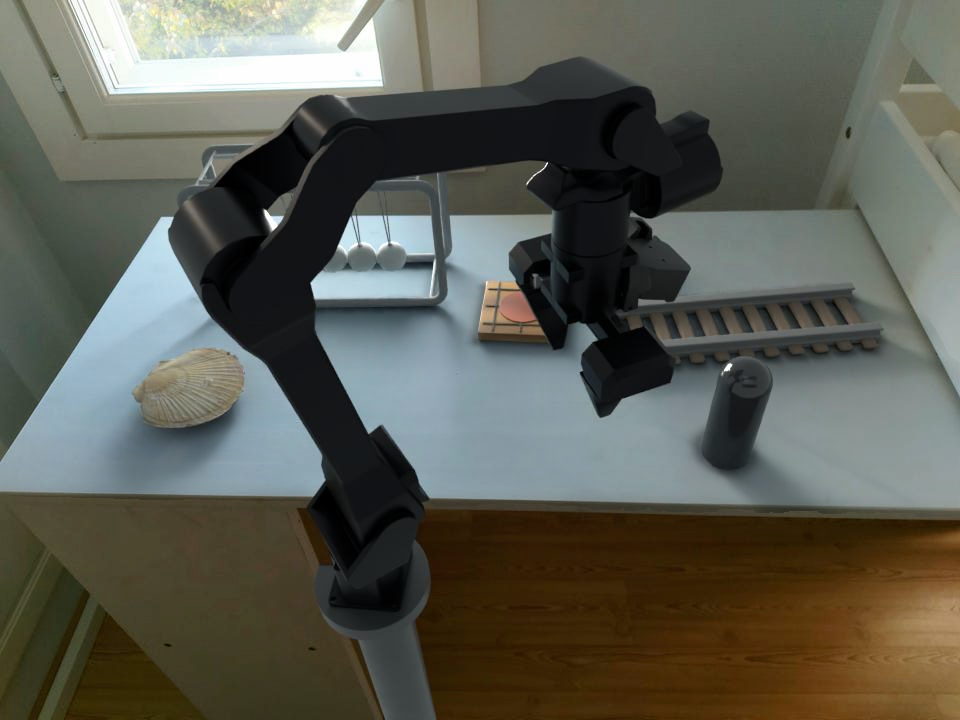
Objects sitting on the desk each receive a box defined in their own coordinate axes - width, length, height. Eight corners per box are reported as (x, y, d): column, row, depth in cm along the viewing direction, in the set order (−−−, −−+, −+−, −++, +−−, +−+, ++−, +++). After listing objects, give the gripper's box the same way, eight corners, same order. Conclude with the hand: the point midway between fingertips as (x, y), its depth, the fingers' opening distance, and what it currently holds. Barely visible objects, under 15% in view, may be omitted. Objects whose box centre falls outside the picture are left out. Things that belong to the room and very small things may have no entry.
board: (562, 343, 89) (562, 335, 88) (478, 339, 90) (477, 331, 89) (564, 290, 96) (565, 282, 95) (487, 287, 97) (486, 279, 96)
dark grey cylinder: (753, 471, 74) (782, 383, 66) (703, 468, 75) (726, 380, 66) (746, 434, 78) (773, 346, 69) (698, 431, 78) (719, 343, 69)
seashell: (259, 415, 83) (252, 397, 81) (150, 454, 79) (140, 436, 77) (235, 352, 90) (229, 334, 88) (135, 385, 87) (125, 367, 85)
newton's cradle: (215, 310, 96) (169, 189, 84) (237, 262, 104) (198, 143, 91) (448, 307, 94) (437, 182, 82) (453, 258, 102) (443, 137, 90)
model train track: (883, 349, 86) (889, 336, 84) (611, 372, 85) (612, 359, 83) (841, 288, 94) (846, 275, 92) (593, 308, 93) (594, 295, 92)
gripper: (755, 277, 52) (716, 425, 63) (623, 156, 65) (610, 297, 76) (612, 320, 50) (597, 467, 60) (504, 186, 62) (508, 327, 73)
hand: (580, 380), depth 67 cm, fingers open, 9 cm apart
